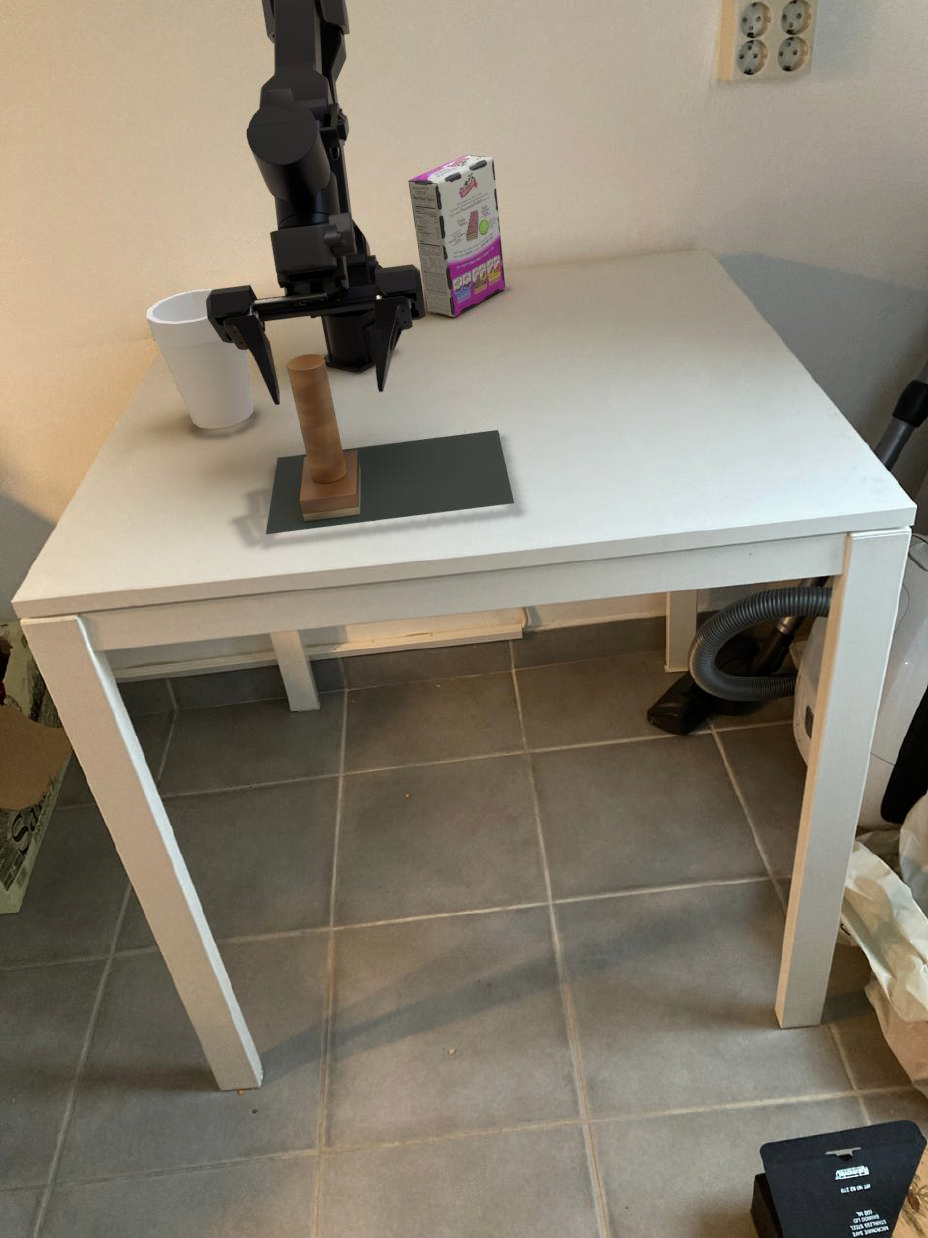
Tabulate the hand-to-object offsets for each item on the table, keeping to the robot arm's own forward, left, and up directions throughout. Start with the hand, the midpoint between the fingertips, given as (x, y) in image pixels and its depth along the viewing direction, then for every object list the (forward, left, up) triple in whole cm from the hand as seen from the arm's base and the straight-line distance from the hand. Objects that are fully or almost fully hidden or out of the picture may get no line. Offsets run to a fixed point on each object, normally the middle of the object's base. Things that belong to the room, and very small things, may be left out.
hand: (328, 396), depth 86 cm
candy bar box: (-17, +45, -10) cm, 49 cm away
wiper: (0, -2, -9) cm, 9 cm away
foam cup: (-22, +6, -10) cm, 25 cm away
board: (+3, +2, -10) cm, 11 cm away
